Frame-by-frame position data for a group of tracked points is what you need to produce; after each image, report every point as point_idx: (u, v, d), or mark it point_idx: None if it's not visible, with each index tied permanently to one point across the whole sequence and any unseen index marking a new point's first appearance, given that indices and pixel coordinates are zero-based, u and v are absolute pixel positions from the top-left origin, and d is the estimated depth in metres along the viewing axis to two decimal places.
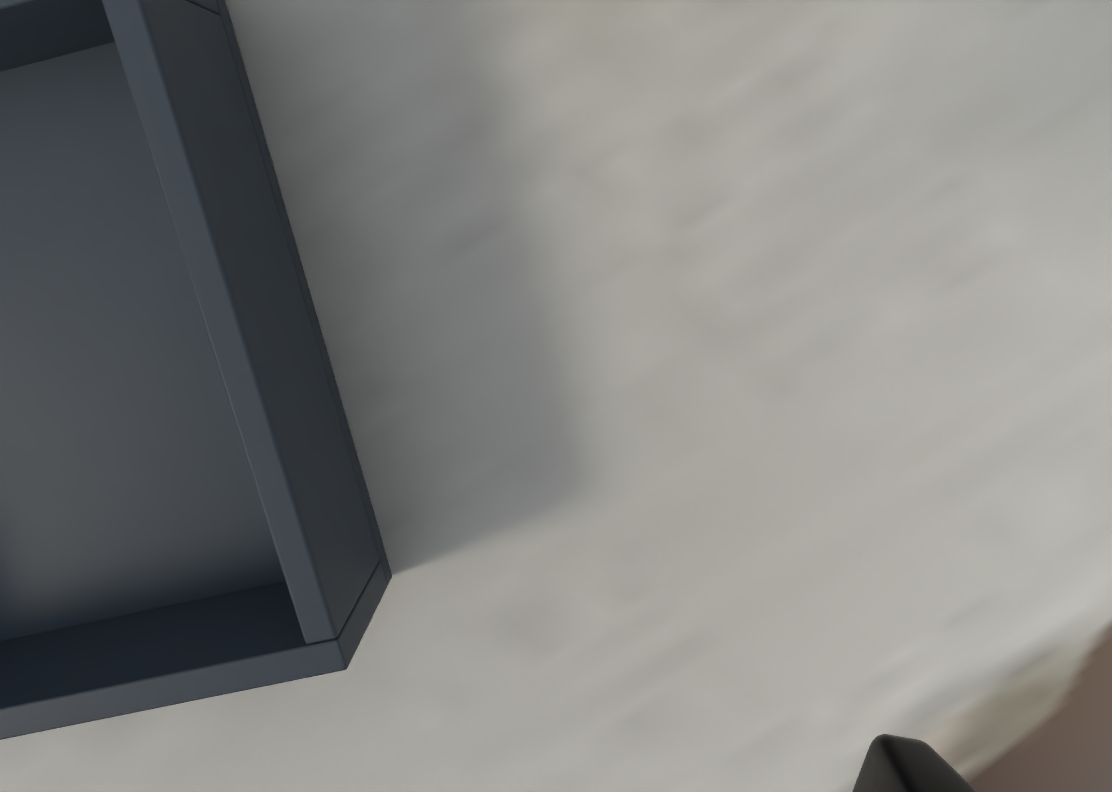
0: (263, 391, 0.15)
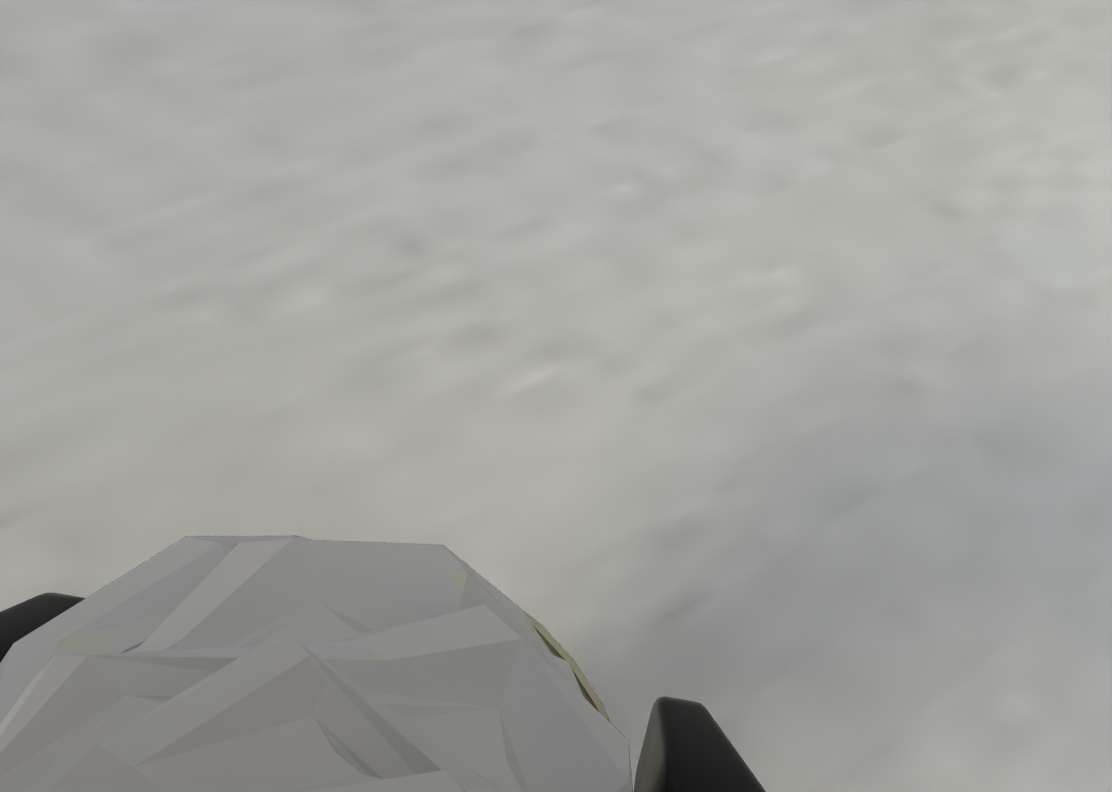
0: None
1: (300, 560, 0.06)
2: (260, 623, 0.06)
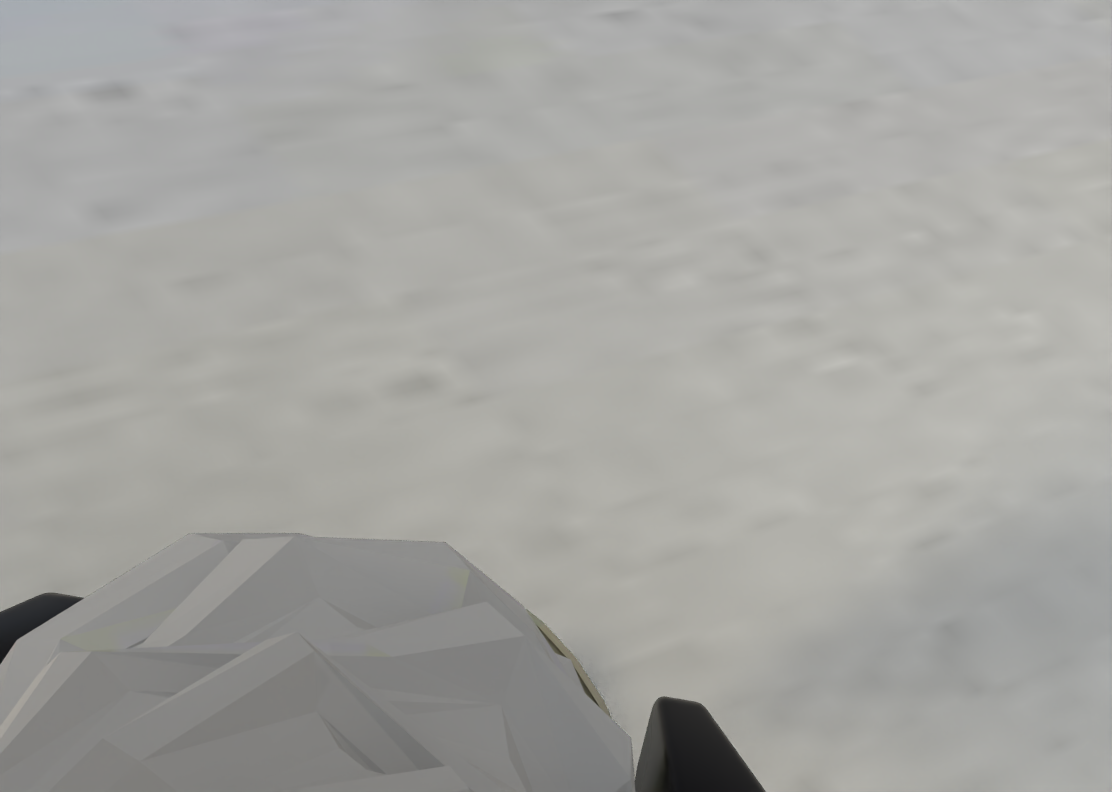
0: None
1: (303, 559, 0.06)
2: (263, 620, 0.06)
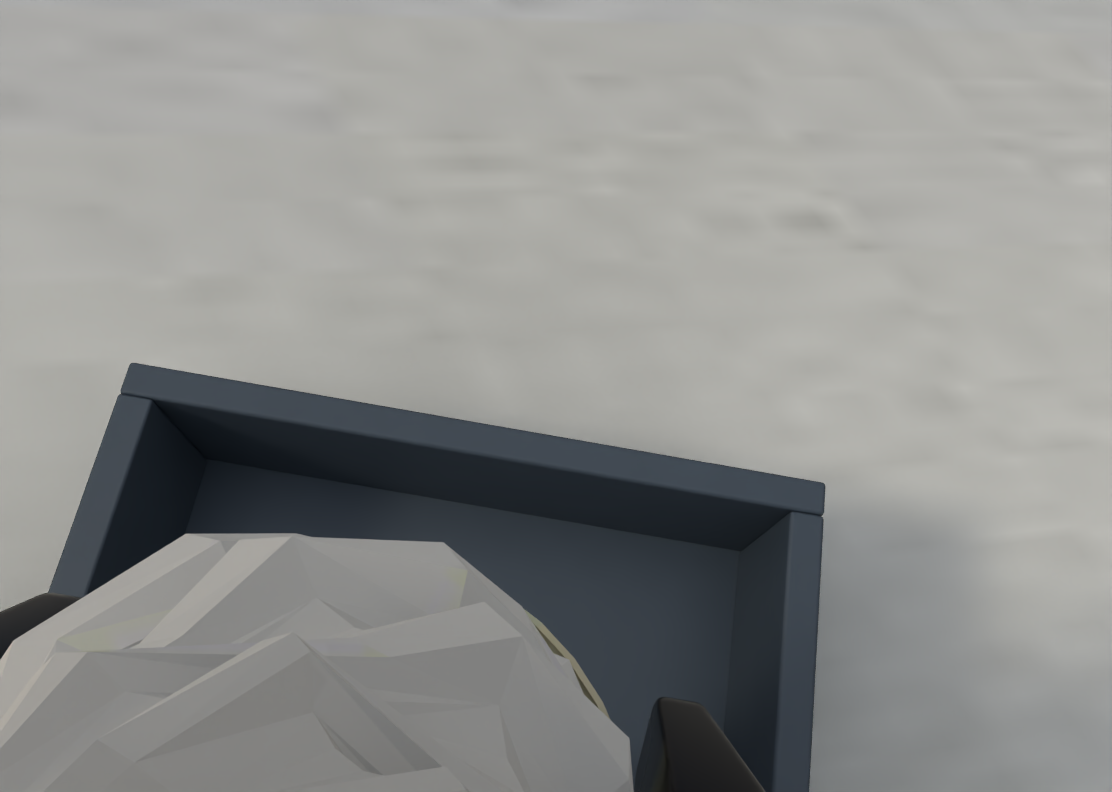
0: None
1: (301, 557, 0.06)
2: (260, 620, 0.06)
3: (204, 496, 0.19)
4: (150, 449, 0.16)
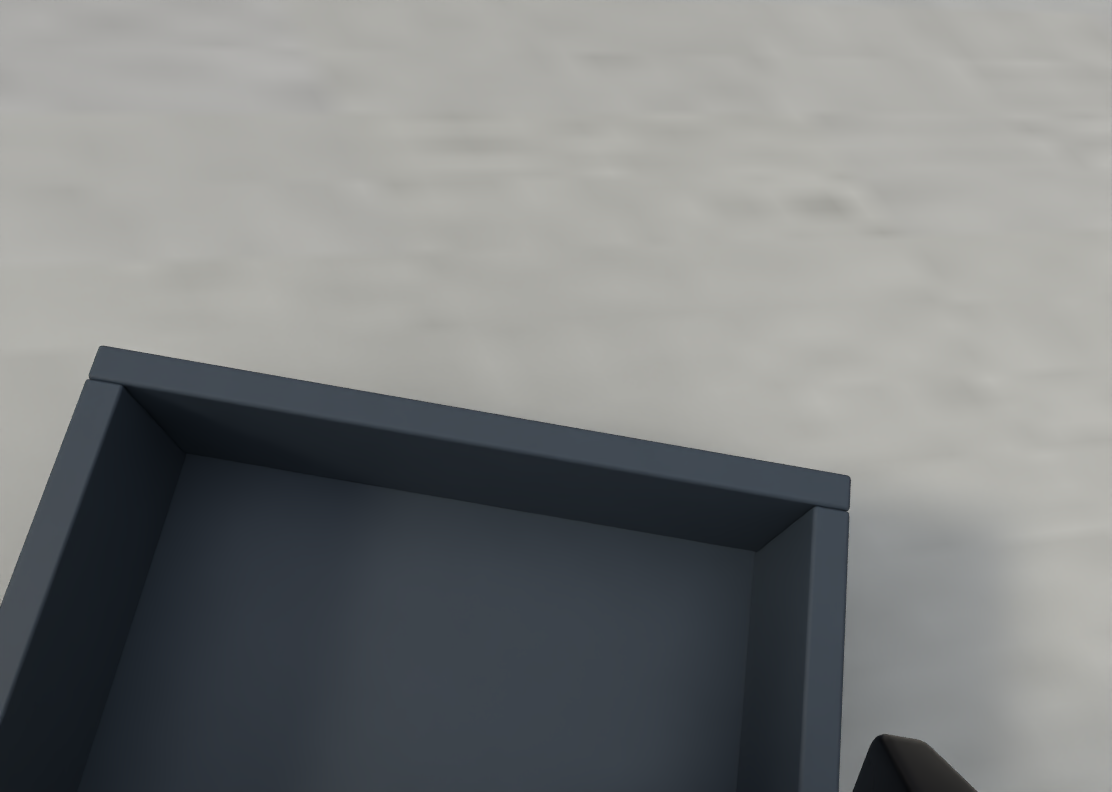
0: None
1: None
2: None
3: (182, 493, 0.18)
4: (121, 439, 0.15)
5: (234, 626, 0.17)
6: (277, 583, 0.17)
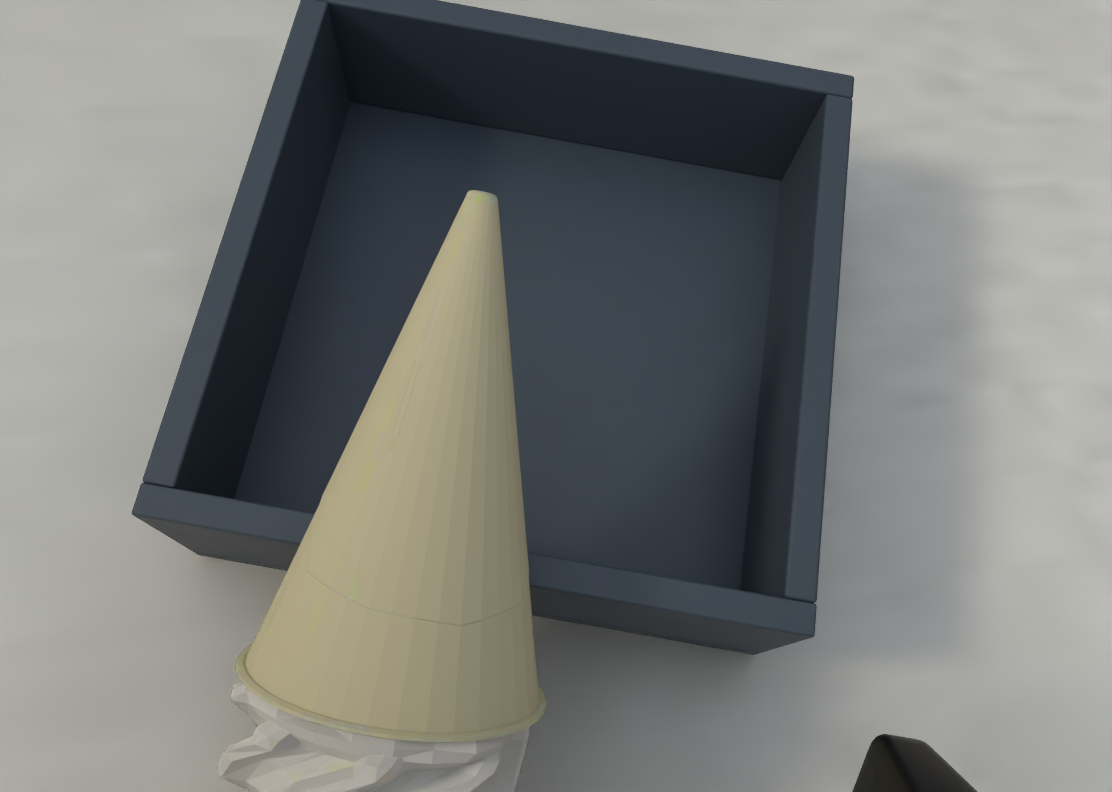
0: (832, 374, 0.18)
1: None
2: None
3: (349, 129, 0.24)
4: (324, 46, 0.21)
5: (393, 217, 0.23)
6: (422, 190, 0.23)
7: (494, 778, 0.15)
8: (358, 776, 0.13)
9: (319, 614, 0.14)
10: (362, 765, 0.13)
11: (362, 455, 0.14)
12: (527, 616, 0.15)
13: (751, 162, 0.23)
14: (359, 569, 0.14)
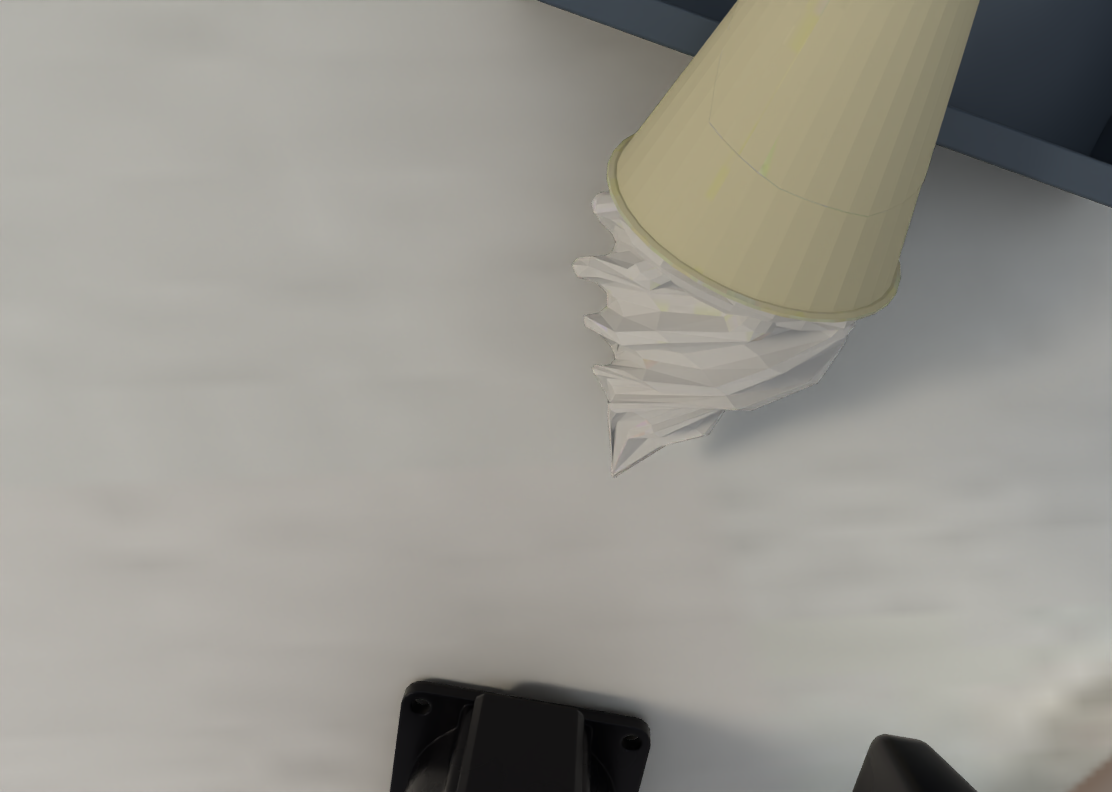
0: None
1: (666, 388, 0.15)
2: None
3: None
4: None
5: None
6: None
7: None
8: (732, 332, 0.14)
9: (721, 179, 0.13)
10: (739, 325, 0.14)
11: (802, 1, 0.12)
12: None
13: None
14: (777, 144, 0.12)
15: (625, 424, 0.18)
